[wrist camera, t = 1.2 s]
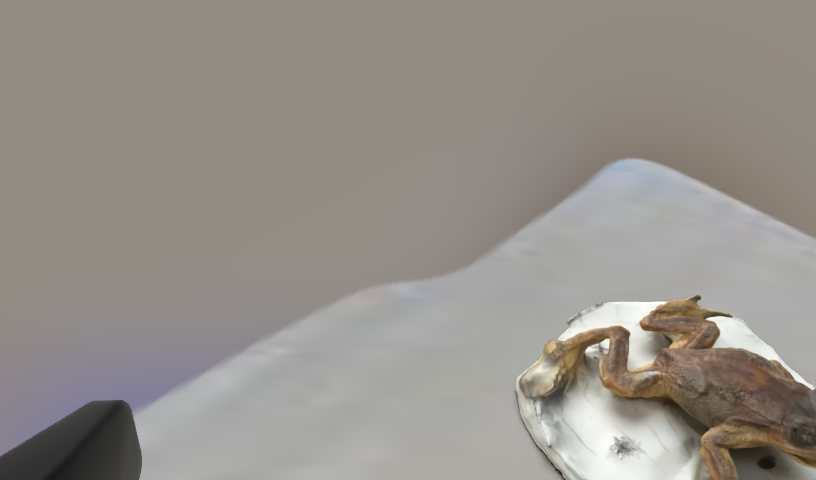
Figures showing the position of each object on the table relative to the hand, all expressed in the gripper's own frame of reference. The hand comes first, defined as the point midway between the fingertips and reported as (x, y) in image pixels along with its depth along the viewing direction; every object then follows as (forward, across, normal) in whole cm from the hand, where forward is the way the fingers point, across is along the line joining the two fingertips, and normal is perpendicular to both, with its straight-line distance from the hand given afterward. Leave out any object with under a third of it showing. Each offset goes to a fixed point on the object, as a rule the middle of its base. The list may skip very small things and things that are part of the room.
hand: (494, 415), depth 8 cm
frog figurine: (+15, -10, +12) cm, 21 cm away
